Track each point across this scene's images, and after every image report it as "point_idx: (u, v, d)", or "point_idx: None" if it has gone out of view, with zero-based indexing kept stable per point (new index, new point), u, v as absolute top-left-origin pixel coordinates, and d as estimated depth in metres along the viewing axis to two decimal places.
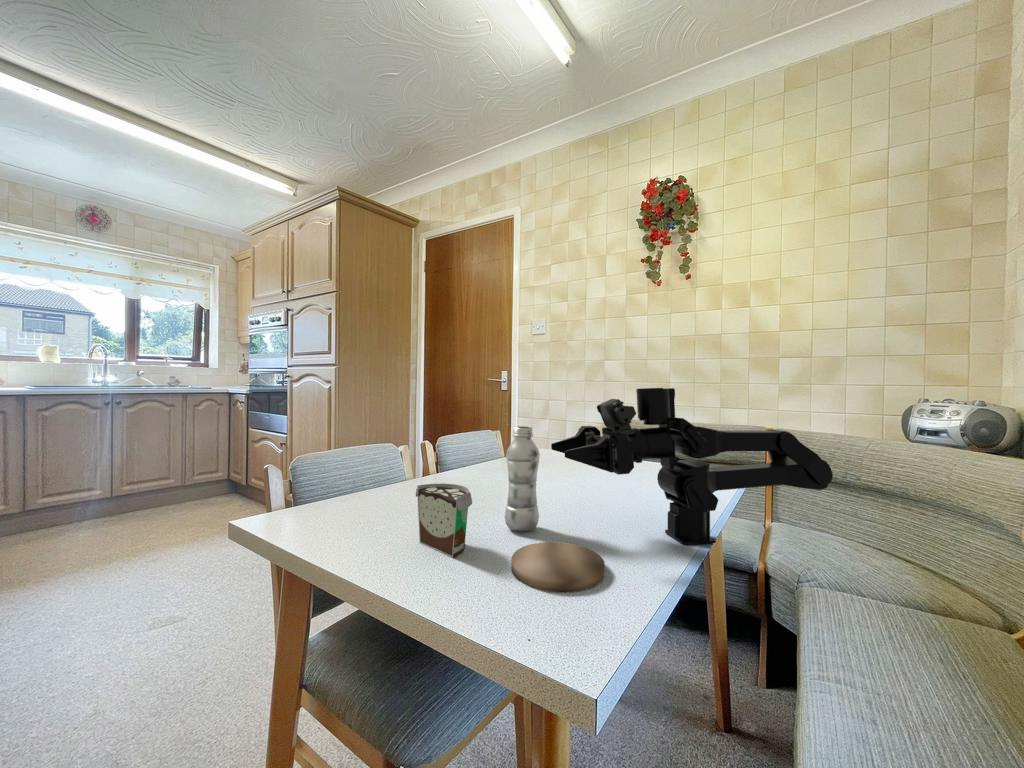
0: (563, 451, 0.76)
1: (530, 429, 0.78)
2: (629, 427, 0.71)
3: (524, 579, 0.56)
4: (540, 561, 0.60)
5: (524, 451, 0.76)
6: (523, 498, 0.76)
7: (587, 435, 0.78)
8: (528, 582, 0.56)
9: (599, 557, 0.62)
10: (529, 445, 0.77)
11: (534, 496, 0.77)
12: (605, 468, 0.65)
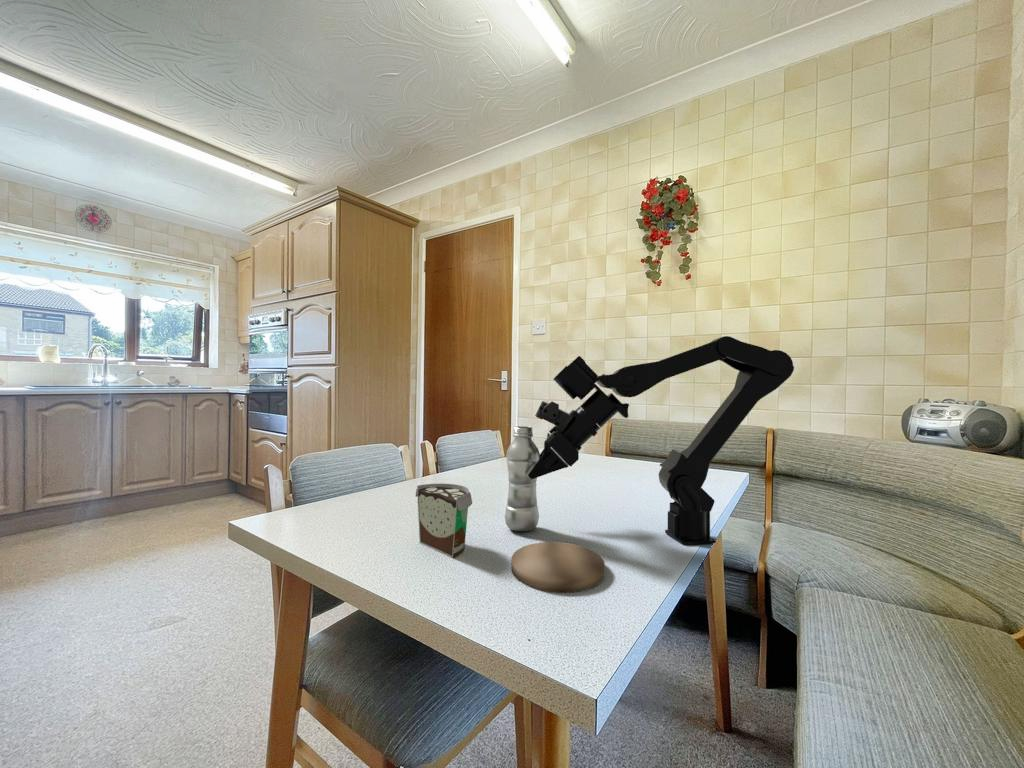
0: None
1: (530, 429, 0.78)
2: (566, 415, 0.75)
3: (524, 579, 0.56)
4: (540, 561, 0.60)
5: (524, 451, 0.76)
6: (523, 498, 0.76)
7: None
8: (528, 582, 0.56)
9: (599, 557, 0.62)
10: (529, 445, 0.77)
11: (534, 496, 0.77)
12: (562, 466, 0.71)
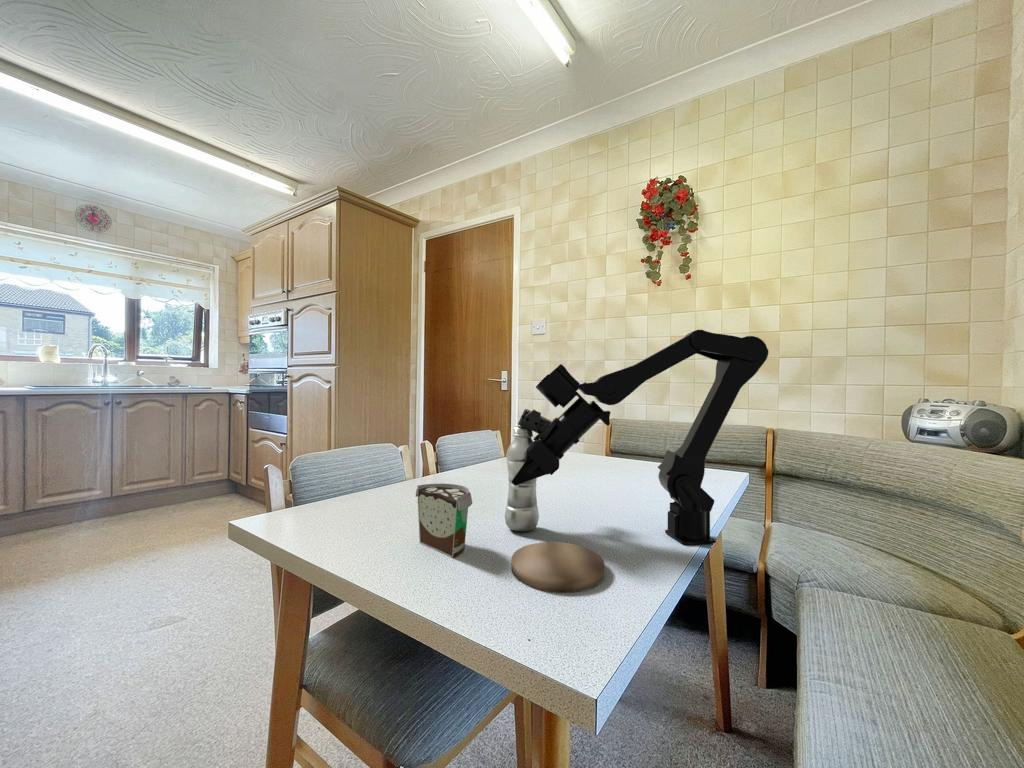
0: None
1: None
2: (548, 423, 0.76)
3: (524, 579, 0.56)
4: (540, 561, 0.60)
5: (524, 451, 0.76)
6: (523, 498, 0.76)
7: None
8: (528, 582, 0.56)
9: (599, 557, 0.62)
10: (529, 445, 0.77)
11: (534, 496, 0.77)
12: (544, 473, 0.73)
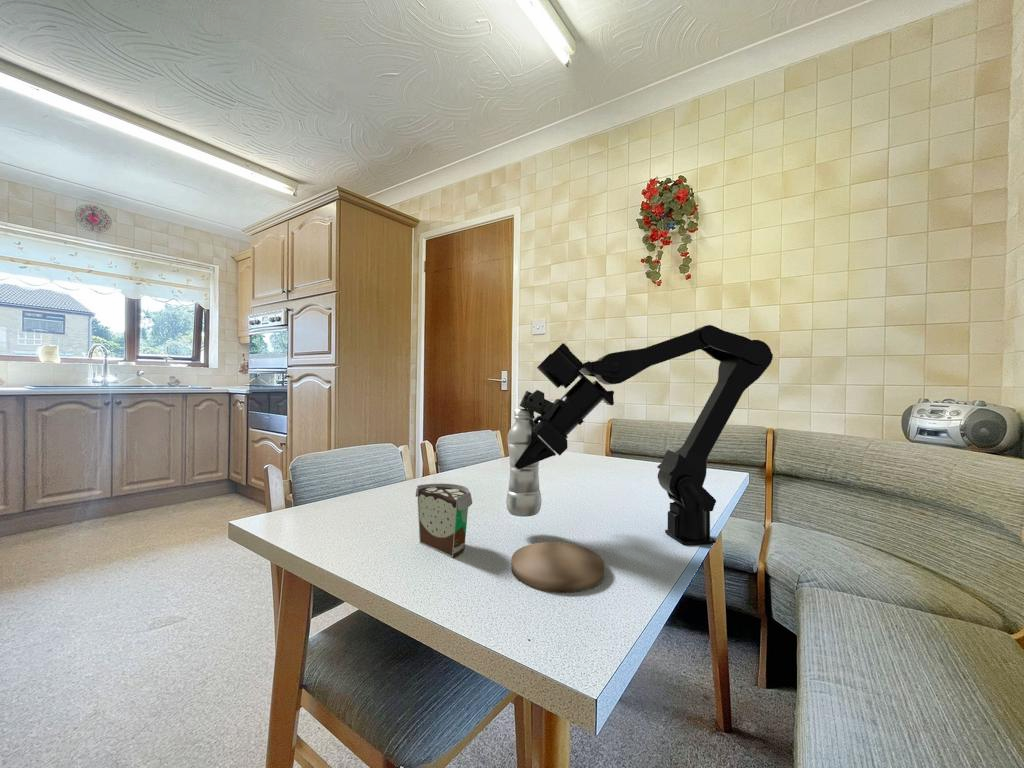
0: None
1: (532, 411, 0.75)
2: (551, 404, 0.73)
3: (524, 579, 0.56)
4: (540, 561, 0.60)
5: (527, 433, 0.73)
6: (527, 482, 0.73)
7: None
8: (528, 582, 0.56)
9: (599, 557, 0.62)
10: (531, 427, 0.74)
11: (537, 480, 0.74)
12: (550, 455, 0.70)
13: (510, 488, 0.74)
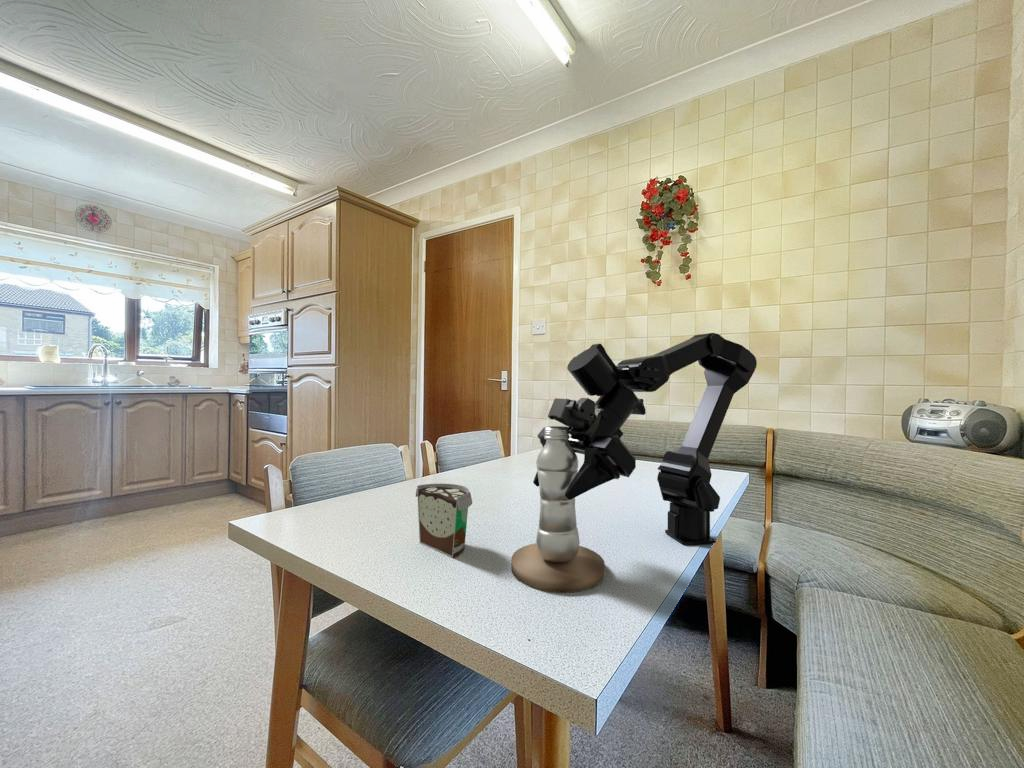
0: None
1: (568, 429, 0.62)
2: (593, 415, 0.62)
3: (524, 579, 0.56)
4: (540, 561, 0.60)
5: (570, 457, 0.59)
6: (570, 518, 0.59)
7: None
8: (528, 582, 0.56)
9: (599, 557, 0.62)
10: (571, 449, 0.61)
11: None
12: (610, 478, 0.57)
13: (549, 528, 0.59)
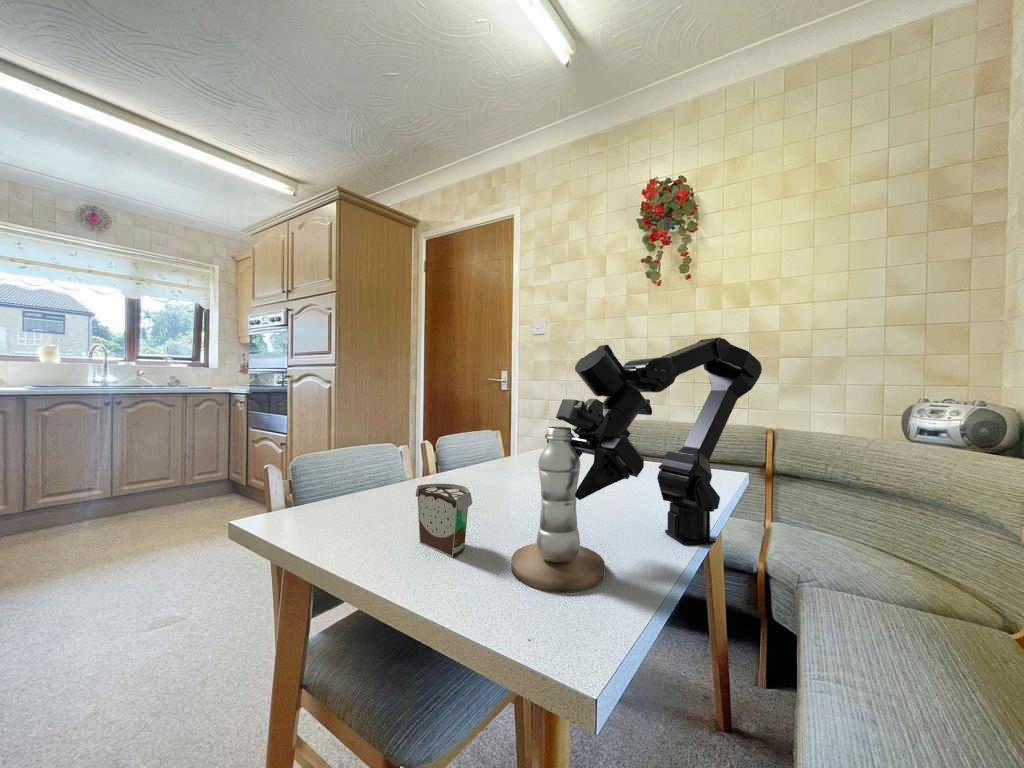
0: None
1: (570, 430, 0.61)
2: None
3: (524, 579, 0.56)
4: (540, 561, 0.60)
5: (572, 457, 0.59)
6: (571, 519, 0.59)
7: None
8: (528, 582, 0.56)
9: (599, 557, 0.62)
10: (573, 450, 0.60)
11: None
12: (619, 478, 0.58)
13: (549, 529, 0.59)
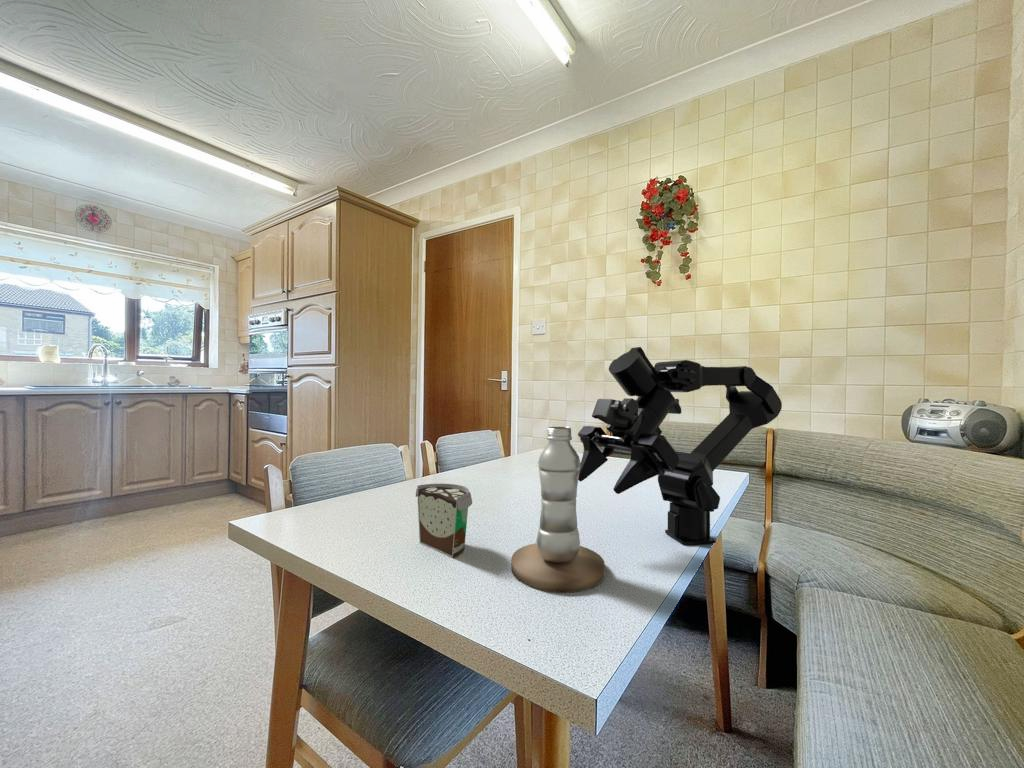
0: (589, 473, 0.70)
1: (570, 430, 0.61)
2: None
3: (524, 579, 0.56)
4: (540, 561, 0.60)
5: (572, 457, 0.59)
6: (571, 519, 0.59)
7: (594, 440, 0.71)
8: (528, 582, 0.56)
9: (599, 557, 0.62)
10: (573, 450, 0.60)
11: None
12: (655, 473, 0.61)
13: (549, 529, 0.59)
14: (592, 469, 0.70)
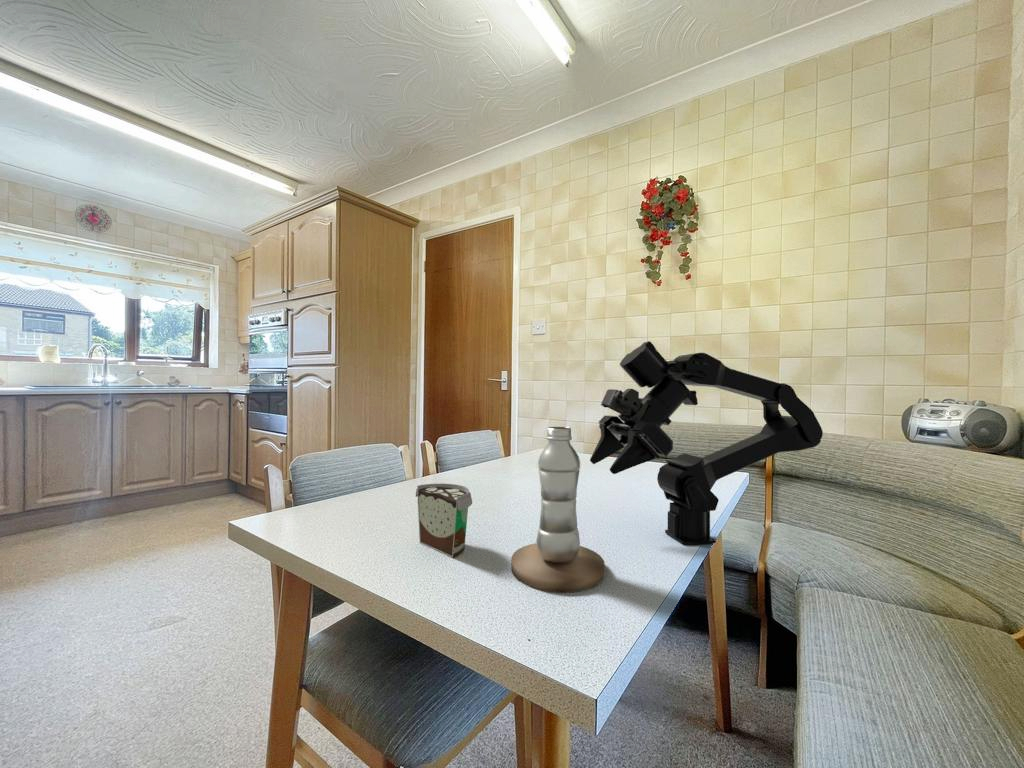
0: (603, 457, 0.77)
1: (570, 430, 0.61)
2: (640, 403, 0.71)
3: (524, 579, 0.56)
4: (540, 561, 0.60)
5: (572, 458, 0.59)
6: (571, 519, 0.59)
7: (610, 428, 0.78)
8: (528, 582, 0.56)
9: (599, 557, 0.62)
10: (573, 450, 0.60)
11: None
12: (651, 458, 0.66)
13: (549, 529, 0.59)
14: (606, 454, 0.77)
